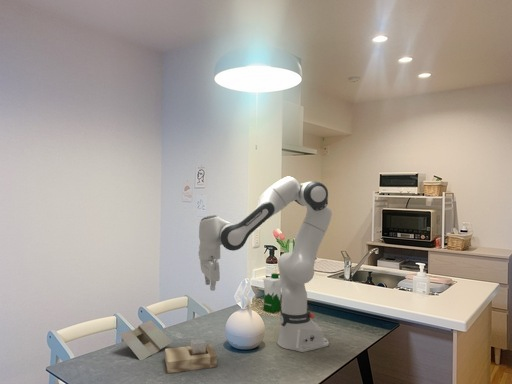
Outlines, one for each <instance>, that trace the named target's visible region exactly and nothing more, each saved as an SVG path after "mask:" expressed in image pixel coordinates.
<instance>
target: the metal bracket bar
mask: <svg viewBox="0 0 512 384" xmlns="http://www.w3.org/2000/svg"><path fill="white" fill-rule="evenodd" d="M206 344H207V342H206V340H205V339H204V338H198V339H191V340H190V346H191V356H193V355H202V354H206Z"/></svg>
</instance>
